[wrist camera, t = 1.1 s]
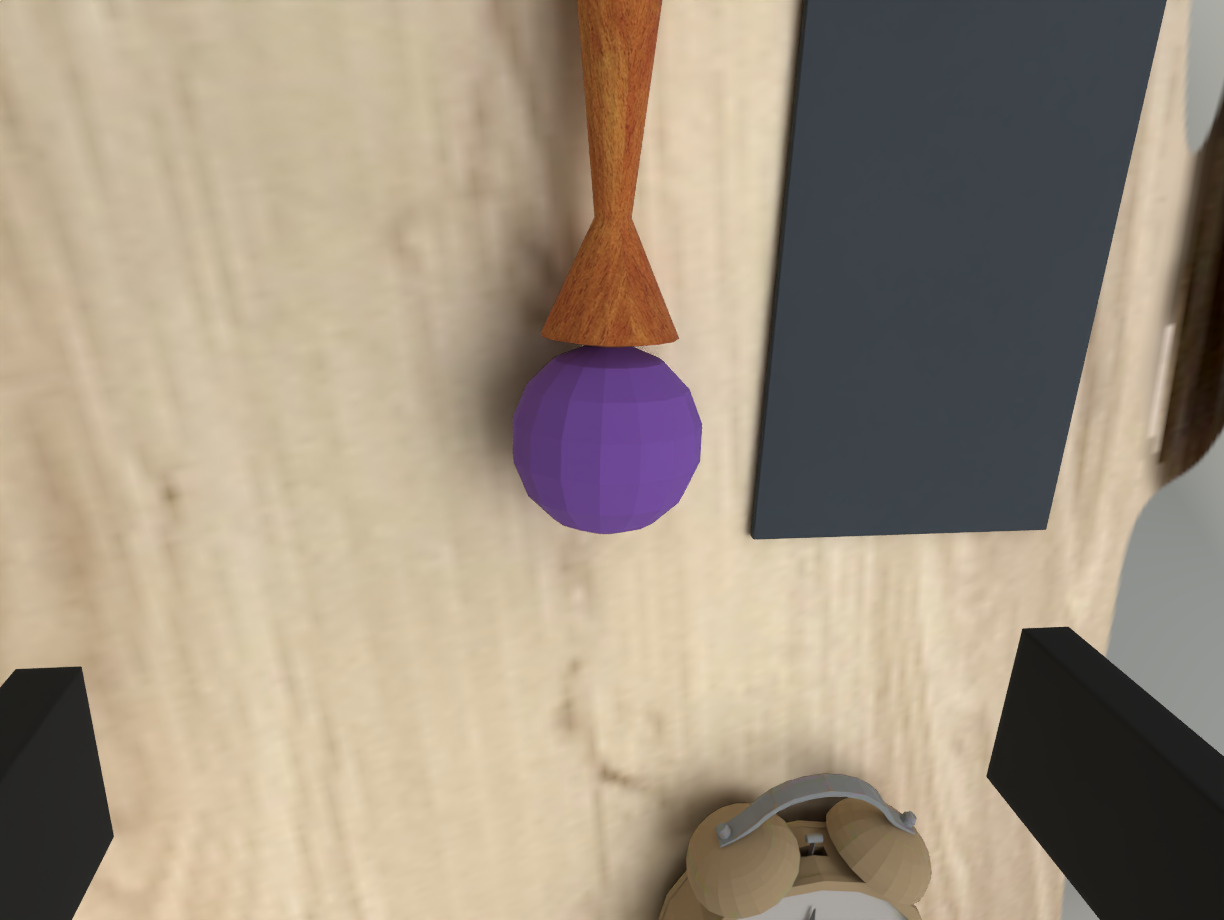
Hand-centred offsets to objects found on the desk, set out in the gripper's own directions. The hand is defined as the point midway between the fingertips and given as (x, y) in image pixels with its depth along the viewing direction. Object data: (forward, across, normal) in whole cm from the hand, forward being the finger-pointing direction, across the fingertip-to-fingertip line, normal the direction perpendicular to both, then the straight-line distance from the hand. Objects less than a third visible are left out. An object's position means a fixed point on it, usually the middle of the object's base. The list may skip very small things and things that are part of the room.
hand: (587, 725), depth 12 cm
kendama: (+19, +2, +6) cm, 20 cm away
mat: (+19, +15, +6) cm, 24 cm away
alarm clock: (+19, +12, -23) cm, 32 cm away
